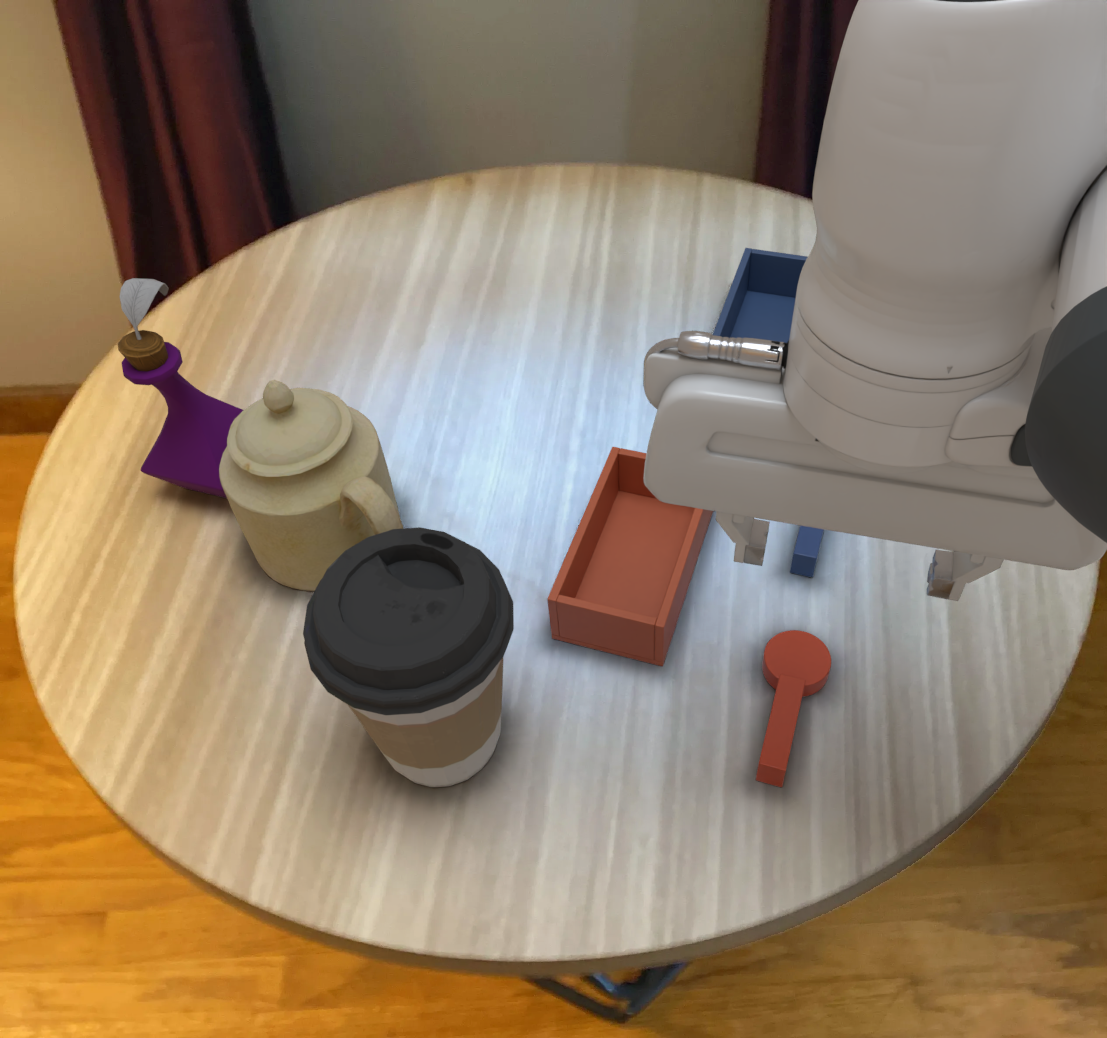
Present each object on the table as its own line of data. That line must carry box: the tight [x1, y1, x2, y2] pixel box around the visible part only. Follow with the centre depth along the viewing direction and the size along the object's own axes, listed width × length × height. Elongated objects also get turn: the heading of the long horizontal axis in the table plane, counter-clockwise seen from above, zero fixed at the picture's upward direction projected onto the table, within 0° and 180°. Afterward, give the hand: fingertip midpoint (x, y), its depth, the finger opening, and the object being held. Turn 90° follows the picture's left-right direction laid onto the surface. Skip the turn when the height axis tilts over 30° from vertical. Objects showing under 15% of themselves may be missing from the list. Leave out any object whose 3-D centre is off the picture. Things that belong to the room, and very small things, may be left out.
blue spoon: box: [789, 525, 825, 578], centre depth 74 cm, size 10×4×2 cm, turn 161°
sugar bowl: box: [219, 379, 404, 592], centre depth 70 cm, size 15×11×15 cm
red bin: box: [546, 446, 714, 667], centre depth 71 cm, size 8×14×4 cm, turn 161°
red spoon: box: [755, 629, 832, 788], centre depth 64 cm, size 10×4×2 cm, turn 161°
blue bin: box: [712, 247, 808, 343], centre depth 85 cm, size 8×14×4 cm, turn 161°
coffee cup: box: [302, 526, 515, 788], centre depth 59 cm, size 11×11×15 cm
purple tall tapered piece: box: [117, 277, 244, 499], centre depth 74 cm, size 8×8×18 cm
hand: (844, 571), depth 52 cm, fingers open, 8 cm apart
